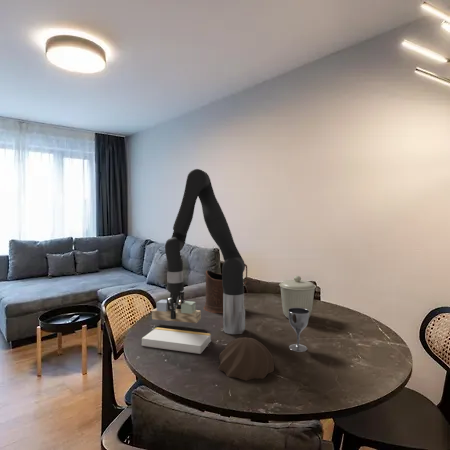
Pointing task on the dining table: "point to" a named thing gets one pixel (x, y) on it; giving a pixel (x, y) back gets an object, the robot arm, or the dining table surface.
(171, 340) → the dock
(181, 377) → the dining table surface
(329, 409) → the dining table surface
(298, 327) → the wine glass
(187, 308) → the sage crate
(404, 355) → the dining table surface
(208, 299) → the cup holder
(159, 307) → the block
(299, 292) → the canister
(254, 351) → the decorative dome
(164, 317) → the pallet
